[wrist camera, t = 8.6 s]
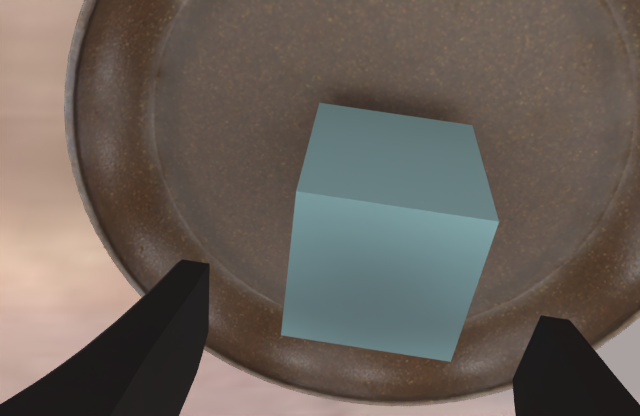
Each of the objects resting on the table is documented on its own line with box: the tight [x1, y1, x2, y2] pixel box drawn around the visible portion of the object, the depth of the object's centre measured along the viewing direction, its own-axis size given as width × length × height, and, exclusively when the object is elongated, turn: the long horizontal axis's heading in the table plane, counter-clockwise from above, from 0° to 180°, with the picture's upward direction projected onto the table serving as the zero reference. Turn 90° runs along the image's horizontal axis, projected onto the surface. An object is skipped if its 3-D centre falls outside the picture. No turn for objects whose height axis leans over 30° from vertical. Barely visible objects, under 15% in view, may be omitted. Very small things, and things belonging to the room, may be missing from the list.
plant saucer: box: [64, 0, 640, 406], centre depth 20 cm, size 21×21×3 cm
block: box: [281, 103, 499, 362], centre depth 16 cm, size 4×4×5 cm
